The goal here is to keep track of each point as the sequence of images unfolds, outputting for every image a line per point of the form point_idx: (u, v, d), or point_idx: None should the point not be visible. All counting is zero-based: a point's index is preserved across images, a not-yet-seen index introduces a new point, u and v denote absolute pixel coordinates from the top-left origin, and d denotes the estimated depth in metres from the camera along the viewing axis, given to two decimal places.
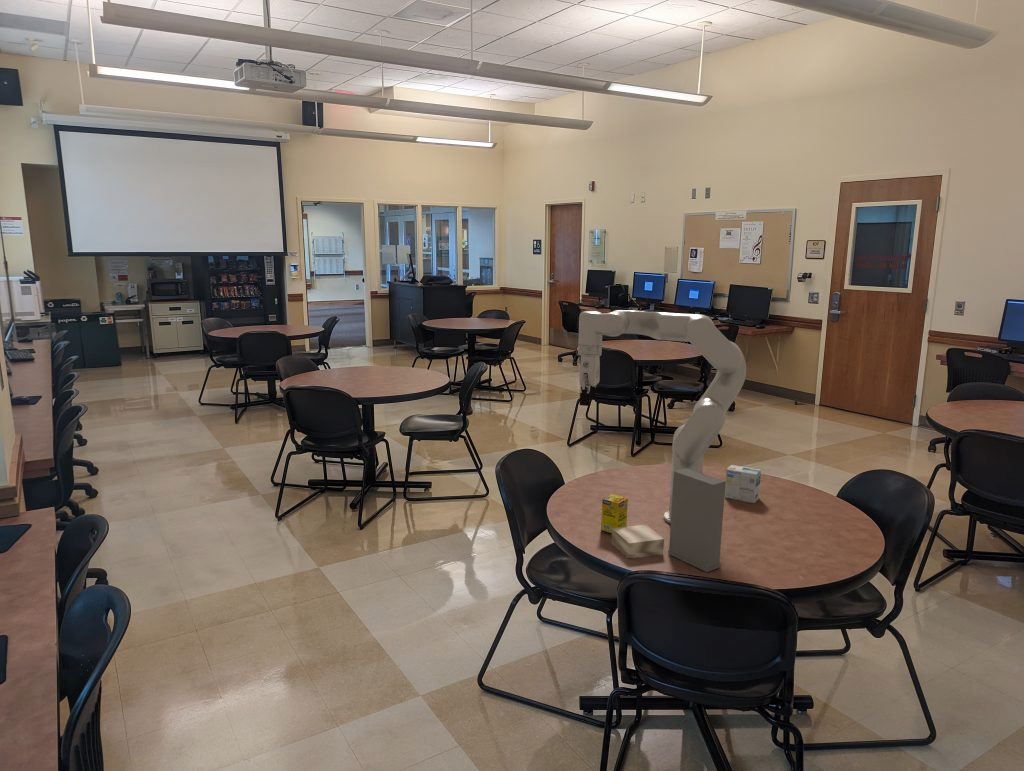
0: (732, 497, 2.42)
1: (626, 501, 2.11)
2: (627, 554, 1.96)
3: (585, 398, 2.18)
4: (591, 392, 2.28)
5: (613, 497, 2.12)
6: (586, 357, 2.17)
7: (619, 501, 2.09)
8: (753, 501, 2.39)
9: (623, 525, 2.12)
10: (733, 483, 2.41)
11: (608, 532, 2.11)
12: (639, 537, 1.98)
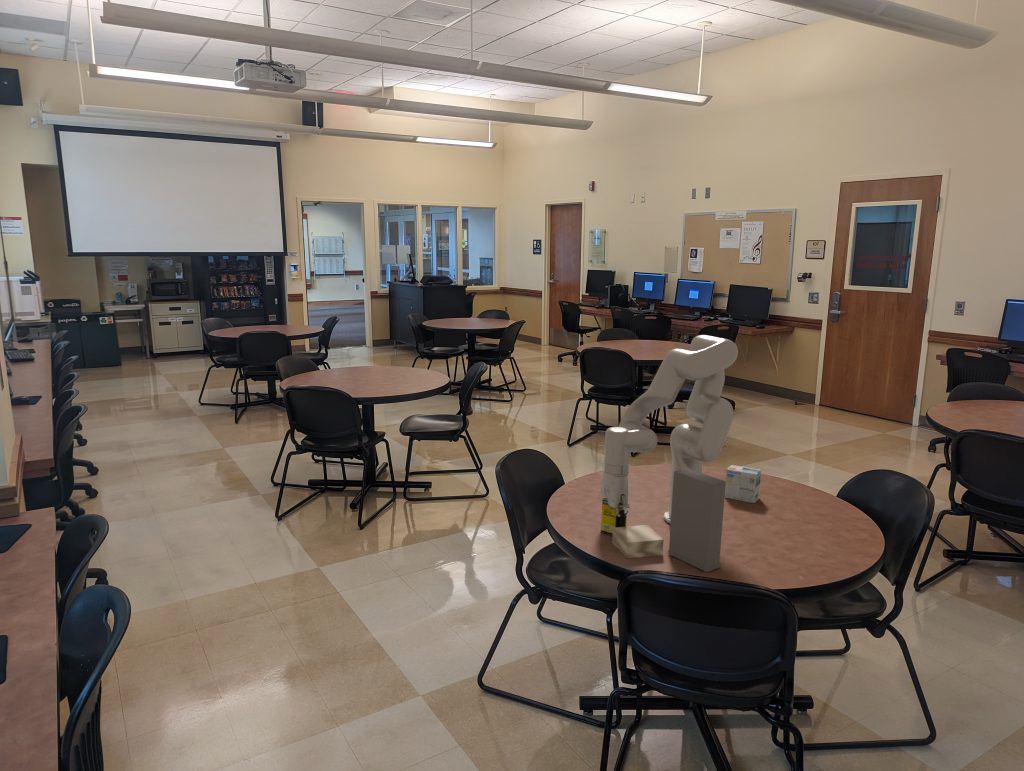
0: (732, 497, 2.42)
1: None
2: (625, 553, 1.96)
3: None
4: None
5: None
6: None
7: None
8: (753, 501, 2.39)
9: None
10: (733, 483, 2.41)
11: (608, 532, 2.11)
12: (639, 537, 1.98)
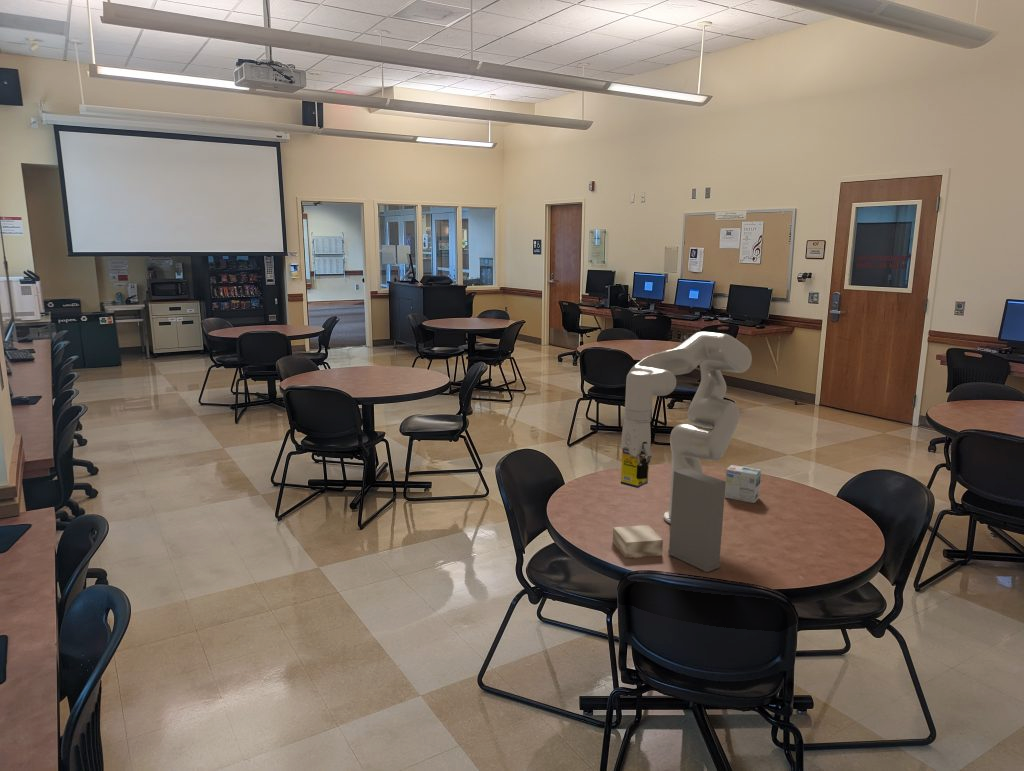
0: (732, 497, 2.42)
1: None
2: (624, 553, 1.96)
3: None
4: None
5: None
6: None
7: None
8: (753, 501, 2.39)
9: None
10: (733, 483, 2.41)
11: (628, 483, 1.98)
12: (638, 537, 1.98)
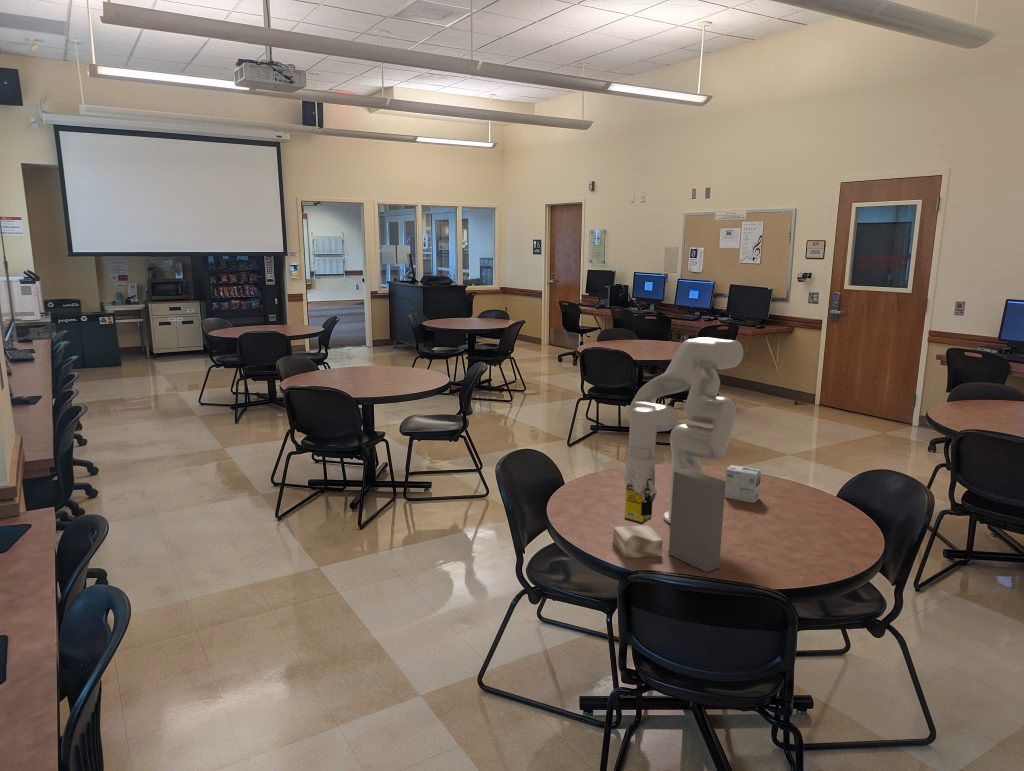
0: (732, 497, 2.42)
1: None
2: (623, 553, 1.96)
3: None
4: None
5: None
6: None
7: None
8: (753, 501, 2.39)
9: None
10: (733, 483, 2.41)
11: (632, 520, 1.97)
12: (638, 537, 1.98)
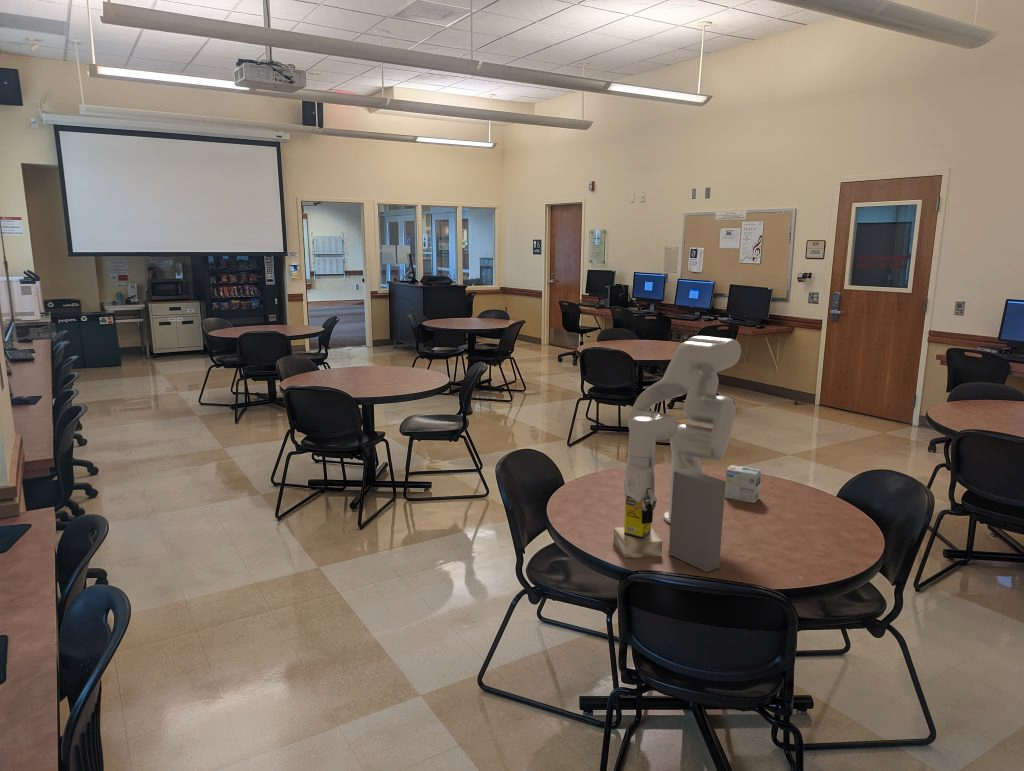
0: (732, 497, 2.43)
1: None
2: (623, 553, 1.96)
3: None
4: None
5: None
6: None
7: None
8: (753, 501, 2.39)
9: (648, 527, 1.99)
10: (733, 483, 2.41)
11: (632, 534, 1.98)
12: (638, 538, 1.98)
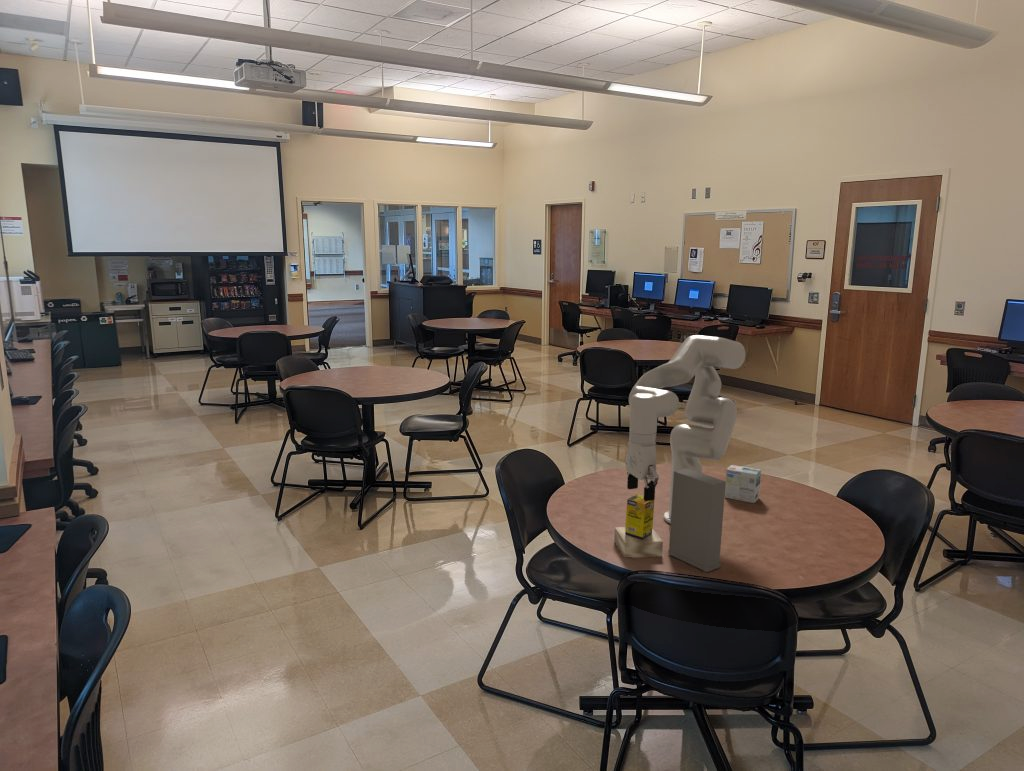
0: (732, 497, 2.42)
1: (653, 502, 1.98)
2: (623, 553, 1.96)
3: None
4: None
5: (639, 497, 1.99)
6: None
7: (646, 502, 1.96)
8: (753, 501, 2.39)
9: (649, 527, 1.99)
10: (733, 483, 2.41)
11: (633, 534, 1.98)
12: None
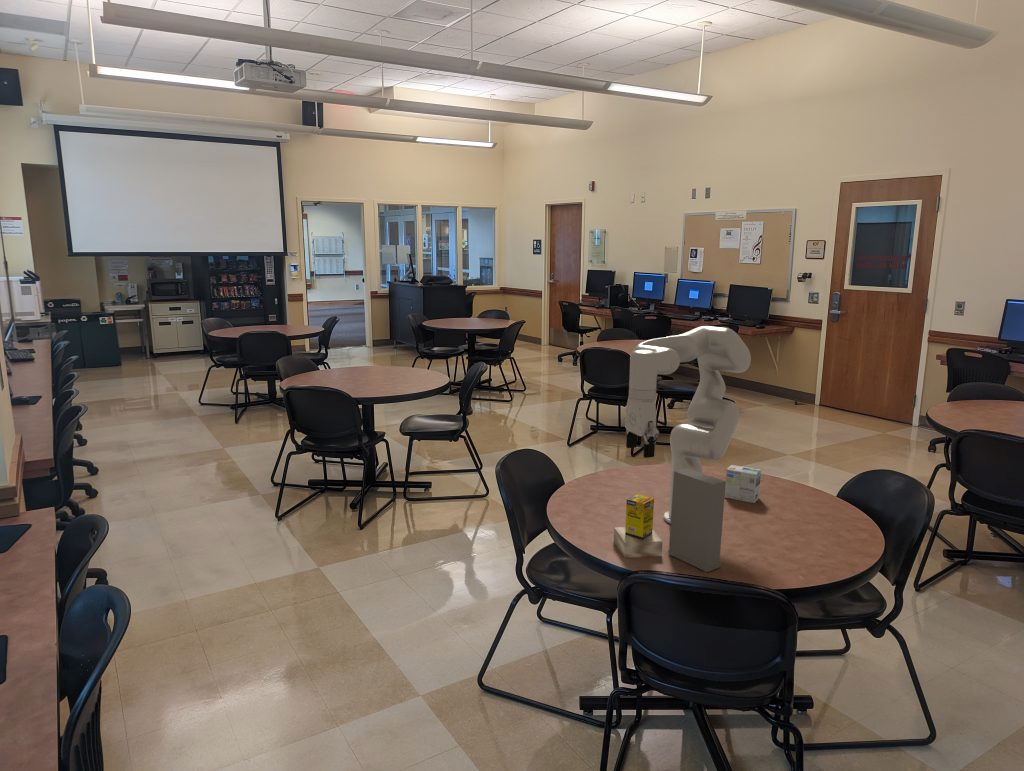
0: (732, 497, 2.43)
1: (653, 502, 1.98)
2: (623, 553, 1.96)
3: None
4: None
5: (638, 497, 1.99)
6: None
7: (645, 502, 1.96)
8: (753, 501, 2.39)
9: (649, 527, 1.99)
10: (733, 483, 2.41)
11: (633, 535, 1.98)
12: None
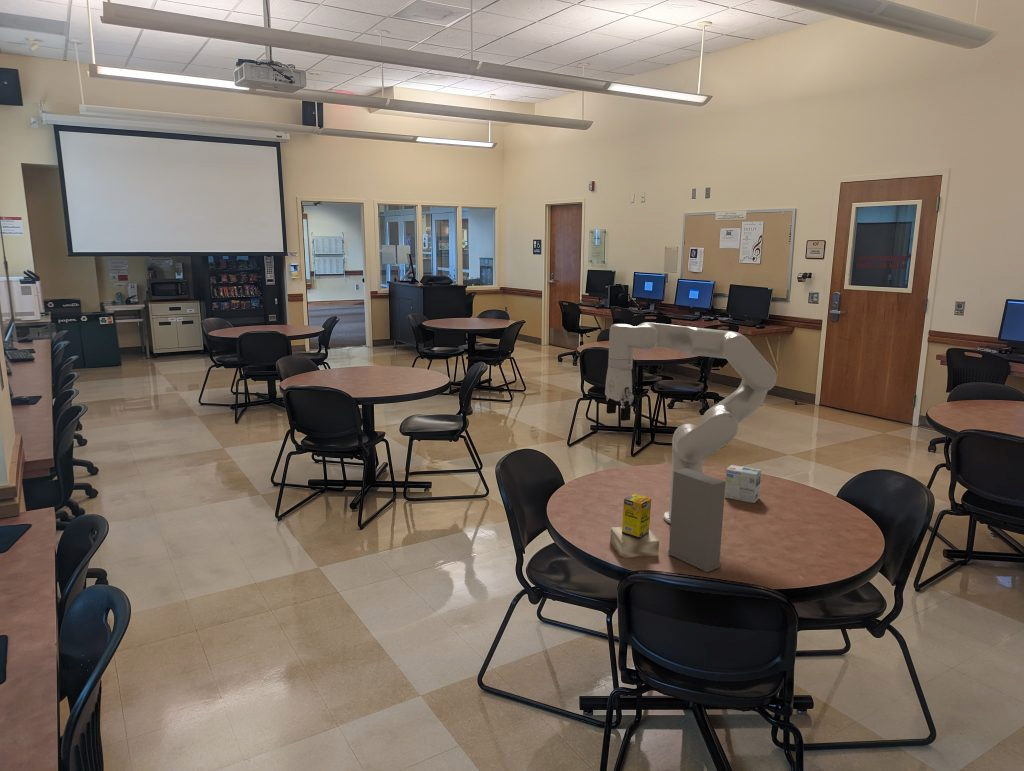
0: (732, 497, 2.43)
1: (650, 502, 1.99)
2: (620, 553, 1.96)
3: None
4: None
5: (636, 497, 1.99)
6: None
7: (642, 501, 1.96)
8: (753, 501, 2.39)
9: (646, 527, 1.99)
10: (733, 483, 2.41)
11: (629, 534, 1.98)
12: (634, 538, 1.98)
